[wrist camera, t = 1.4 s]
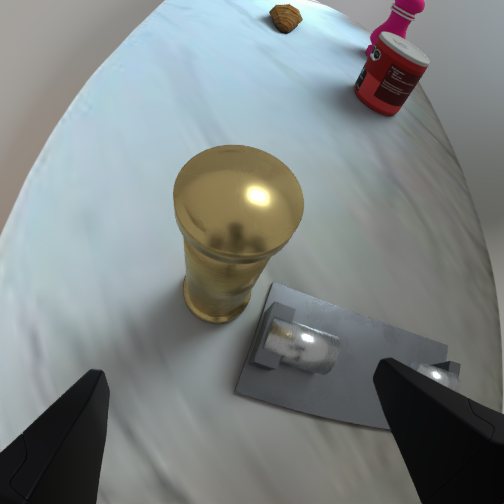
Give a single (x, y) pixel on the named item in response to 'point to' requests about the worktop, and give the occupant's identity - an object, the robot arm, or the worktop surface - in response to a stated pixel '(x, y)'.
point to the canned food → (390, 74)
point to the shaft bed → (349, 365)
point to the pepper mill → (398, 20)
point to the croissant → (285, 17)
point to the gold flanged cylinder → (232, 225)
